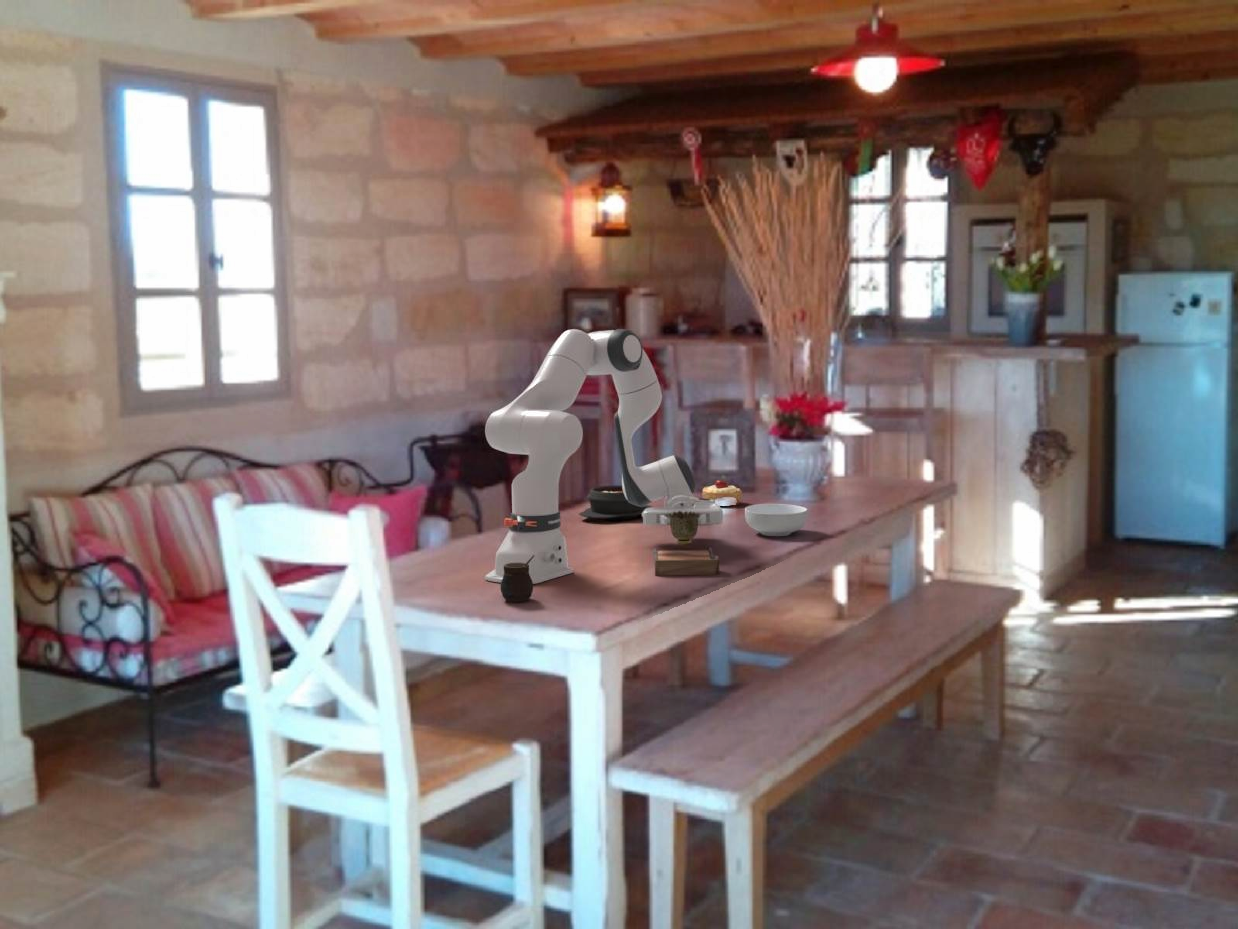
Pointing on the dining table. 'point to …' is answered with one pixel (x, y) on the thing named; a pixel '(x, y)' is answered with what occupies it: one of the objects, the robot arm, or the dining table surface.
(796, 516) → the cereal bowl
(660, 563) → the brown wooden tray
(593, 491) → the casserole
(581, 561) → the dining table surface
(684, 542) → the cup
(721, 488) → the pastry
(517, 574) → the mate gourd
